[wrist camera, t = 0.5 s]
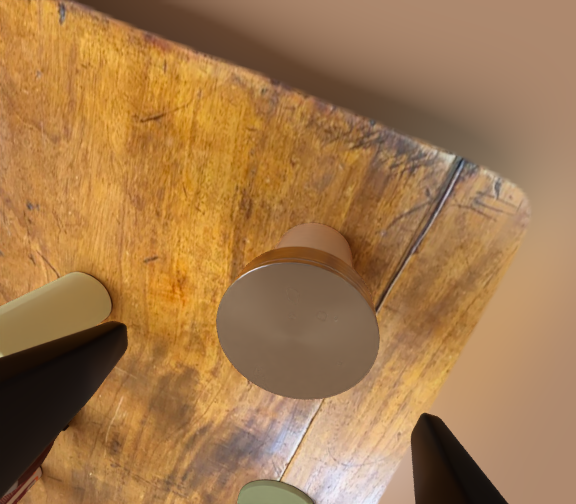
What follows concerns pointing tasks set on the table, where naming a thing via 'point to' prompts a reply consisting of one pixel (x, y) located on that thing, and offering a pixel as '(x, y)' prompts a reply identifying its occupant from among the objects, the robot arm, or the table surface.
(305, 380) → the jam lid
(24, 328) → the candle
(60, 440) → the table surface
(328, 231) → the jam jar
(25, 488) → the pill bottle
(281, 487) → the coaster
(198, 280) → the table surface
